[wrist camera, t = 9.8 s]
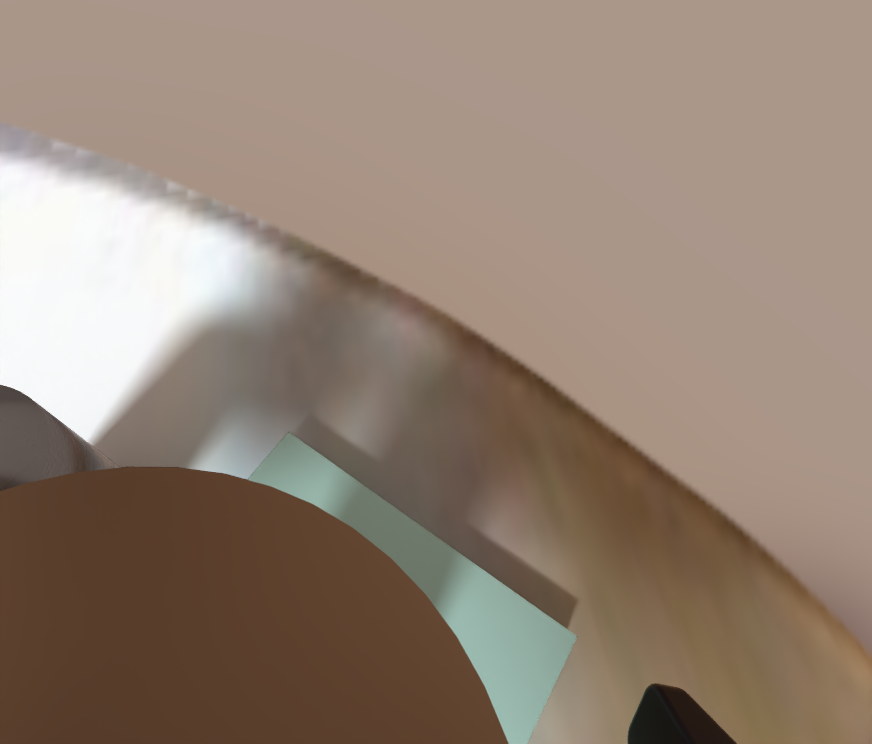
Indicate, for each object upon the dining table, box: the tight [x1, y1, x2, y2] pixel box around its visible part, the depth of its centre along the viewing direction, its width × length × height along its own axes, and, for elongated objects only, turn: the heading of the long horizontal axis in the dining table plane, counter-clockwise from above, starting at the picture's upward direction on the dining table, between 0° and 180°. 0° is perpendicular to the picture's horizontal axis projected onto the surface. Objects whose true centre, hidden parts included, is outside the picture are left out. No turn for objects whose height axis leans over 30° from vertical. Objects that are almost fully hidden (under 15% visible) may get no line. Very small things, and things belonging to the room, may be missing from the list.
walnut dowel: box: [0, 467, 509, 744], centre depth 8 cm, size 4×4×13 cm
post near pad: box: [0, 385, 120, 491], centre depth 13 cm, size 3×3×6 cm
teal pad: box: [248, 432, 577, 744], centre depth 14 cm, size 10×10×1 cm
